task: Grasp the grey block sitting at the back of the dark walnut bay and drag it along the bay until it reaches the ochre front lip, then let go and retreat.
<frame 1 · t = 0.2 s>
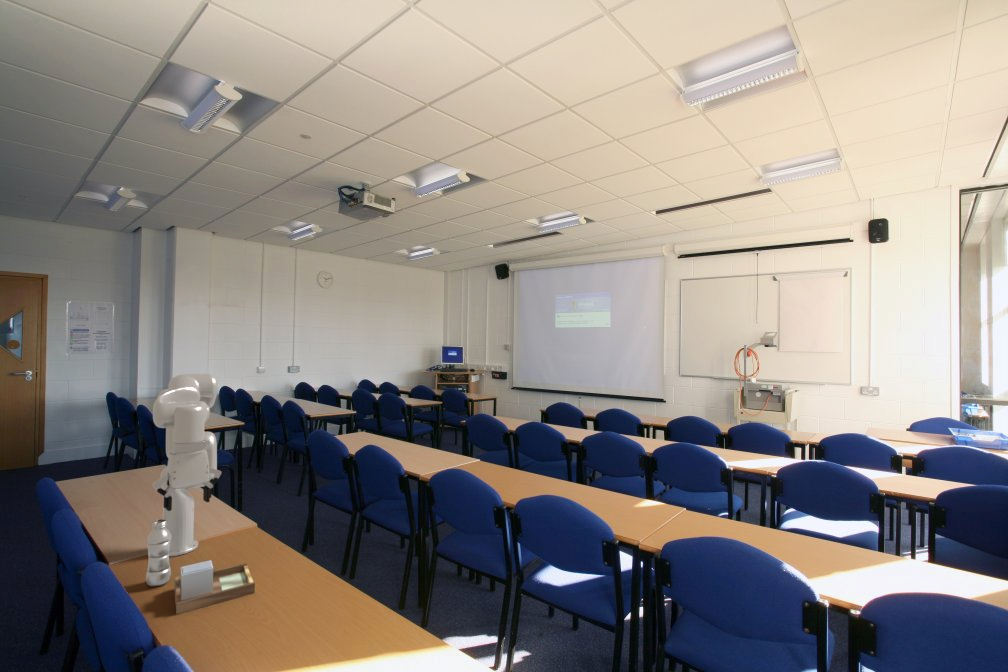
hand: (187, 505, 139), 30 cm above the table, fingers open, 9 cm apart
grey block: (196, 579, 144), point 5 cm above the table, slide at 0.0 cm
bay: (214, 591, 147), on the table
plastic bottle: (158, 584, 151), on the table
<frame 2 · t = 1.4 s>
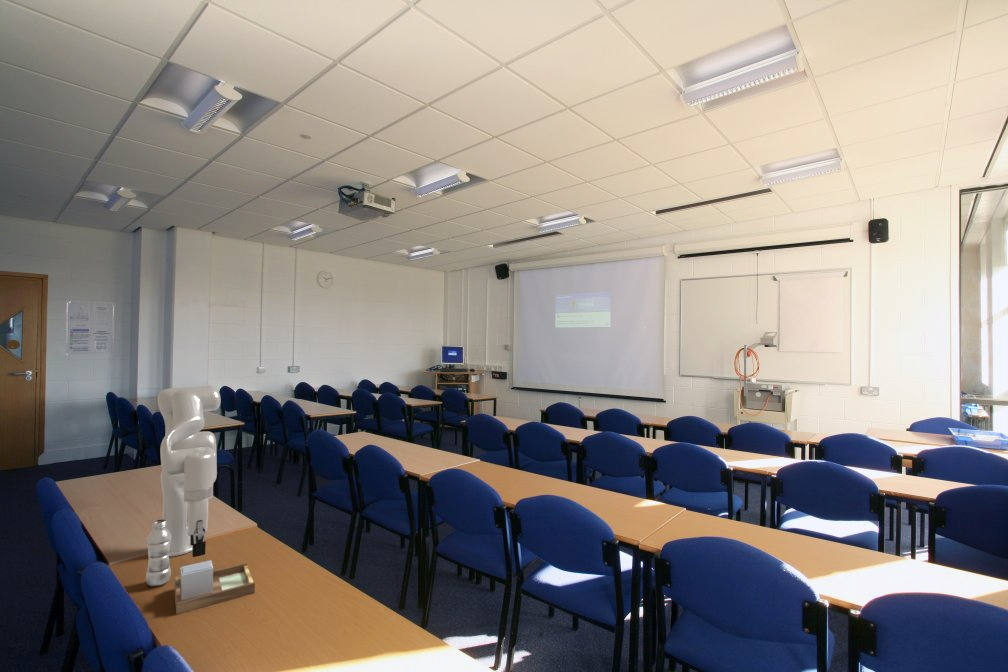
hand: (197, 549, 144), 14 cm above the table, fingers open, 9 cm apart
nothing on the table moved.
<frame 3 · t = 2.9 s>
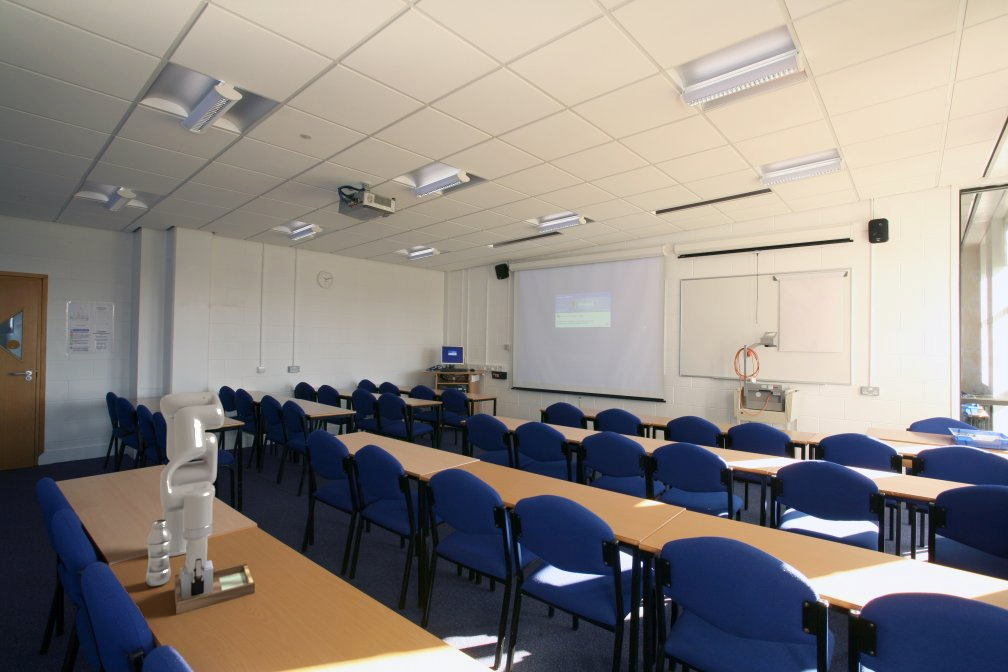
hand: (196, 588, 144), 2 cm above the table, fingers closed on grey block, 6 cm apart
grey block: (196, 579, 144), point 5 cm above the table, slide at 0.0 cm, touching gripper
everything else where it was.
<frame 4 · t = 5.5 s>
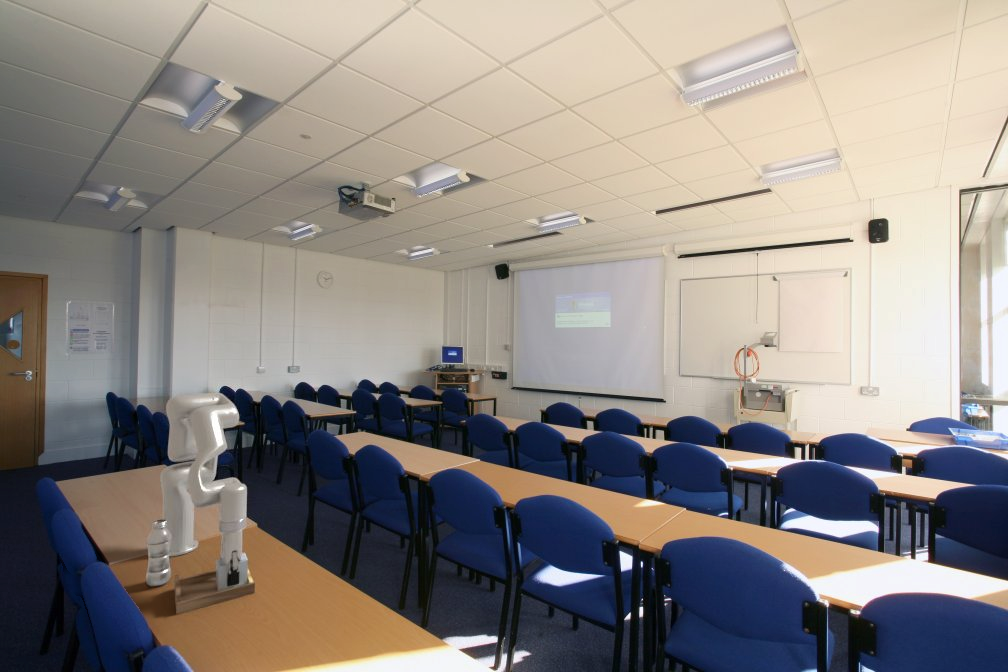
hand: (231, 579, 150), 2 cm above the table, fingers closed on grey block, 6 cm apart
grey block: (231, 570, 150), point 5 cm above the table, slide at 9.4 cm, touching gripper
everything else where it was.
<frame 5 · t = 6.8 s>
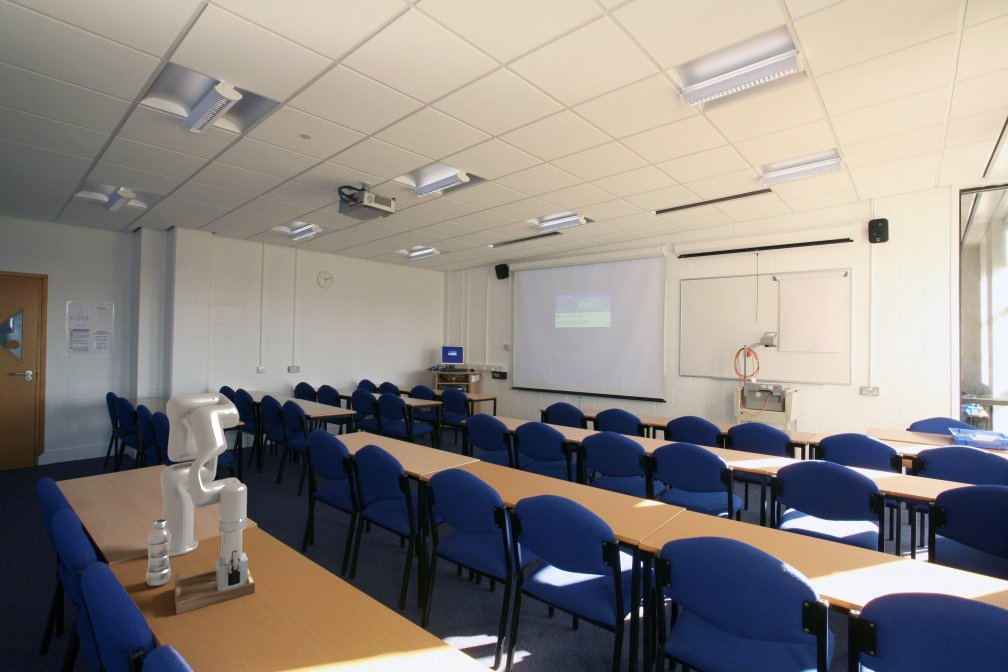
hand: (231, 577, 150), 3 cm above the table, fingers open, 9 cm apart
grey block: (231, 570, 150), point 5 cm above the table, slide at 9.4 cm
everything else where it was.
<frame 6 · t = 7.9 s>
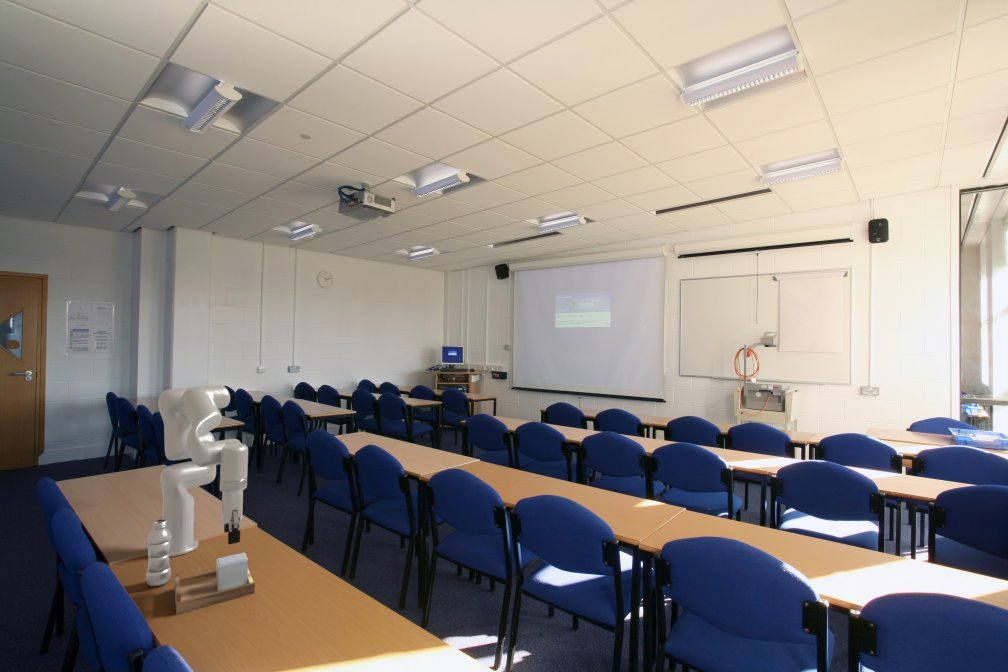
hand: (231, 537, 150), 16 cm above the table, fingers open, 9 cm apart
nothing on the table moved.
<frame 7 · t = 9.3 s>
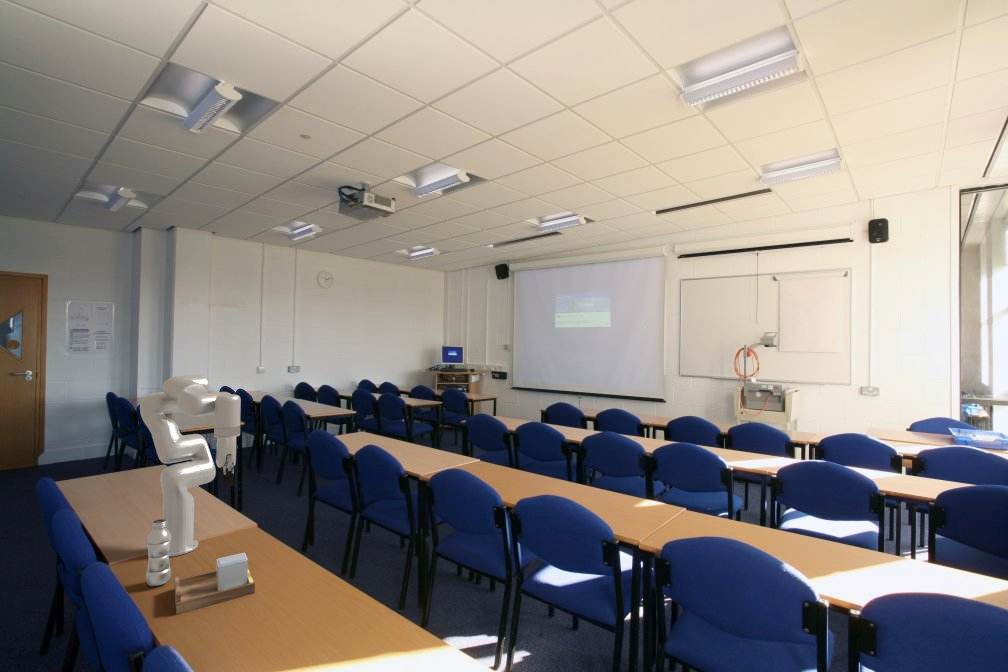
hand: (226, 482, 159), 30 cm above the table, fingers open, 9 cm apart
nothing on the table moved.
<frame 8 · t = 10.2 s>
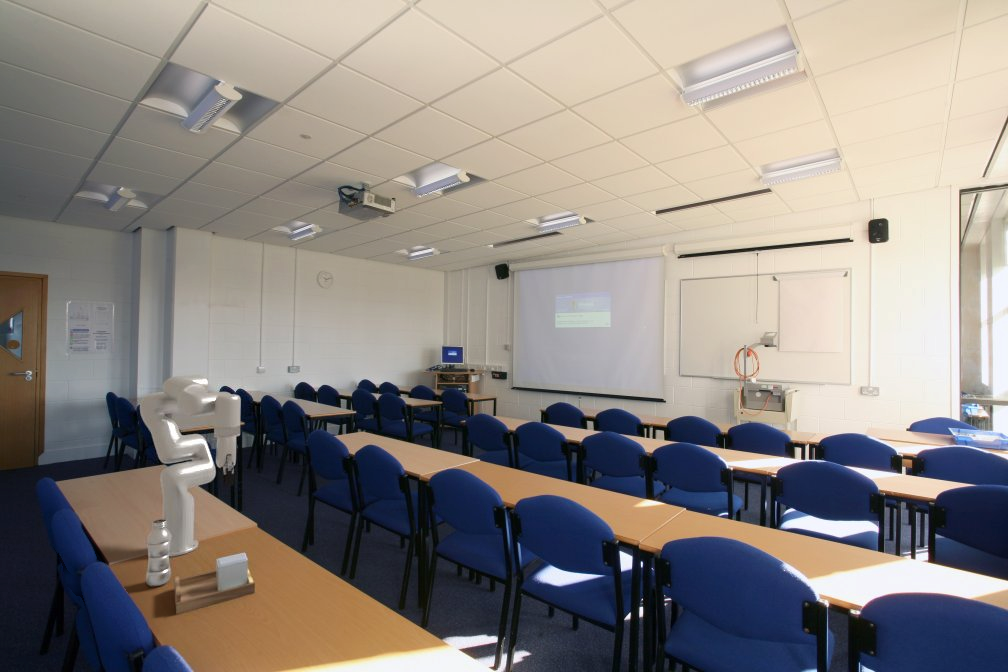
hand: (226, 482, 159), 30 cm above the table, fingers open, 9 cm apart
nothing on the table moved.
at the end: grey block slide at 9.4 cm; the gripper is holding nothing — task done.
